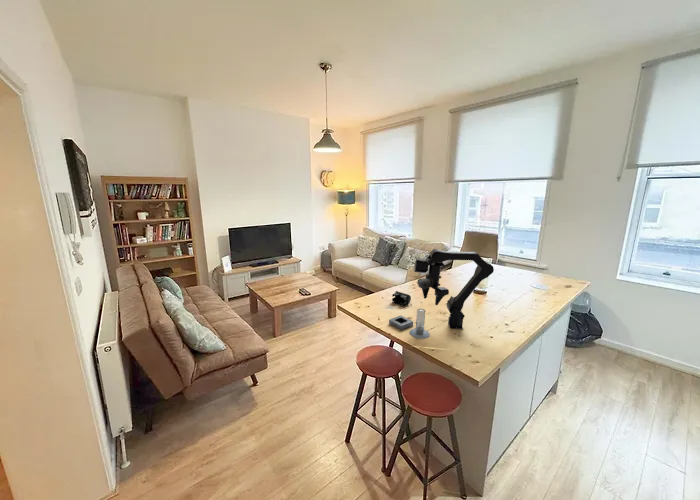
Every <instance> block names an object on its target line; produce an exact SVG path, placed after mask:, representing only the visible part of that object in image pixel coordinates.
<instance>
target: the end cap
mask: <svg viewBox="0 0 700 500" xmlns="http://www.w3.org/2000/svg"><path fill="white" fill-rule="evenodd" d="M391 295H392V297H393V298H391V300H392V304H394V303H395V305H397V306H401V307H406V306H408V305H409V304H410V303H411V301H412V297H411V295H410V294H407V293H404V292H401V291H398V290H396V291H395V292H394V293H392V294H391Z"/></svg>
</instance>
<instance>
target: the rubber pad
mask: <svg viewBox="0 0 700 500" xmlns="http://www.w3.org/2000/svg"><path fill="white" fill-rule="evenodd" d="M409 335H410V336H411V337H413V338H415V339H421V340H422V339H423V340H424V339H428V338H430V336H431V334H430V332H429V331H428V330H425V329H424V334H423V335H417V334H416V328H412V329H410V330H409Z"/></svg>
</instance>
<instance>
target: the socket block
mask: <svg viewBox="0 0 700 500" xmlns="http://www.w3.org/2000/svg"><path fill="white" fill-rule="evenodd" d="M388 324H389V325H390V326H392V327H394V328H396V329H397V330H399V331H403V330H406V329H408V328H411V327H413V326H414V321H413V320H411V319H409V318H407V317H405V316H403V315H398V316H395V317H393V318H390V319H388Z"/></svg>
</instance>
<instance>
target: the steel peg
mask: <svg viewBox="0 0 700 500" xmlns="http://www.w3.org/2000/svg"><path fill="white" fill-rule="evenodd" d="M425 319H426V309H425V308H417V310H416V320H415V329H416V334H417V335H423V334H424V330H425Z"/></svg>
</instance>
